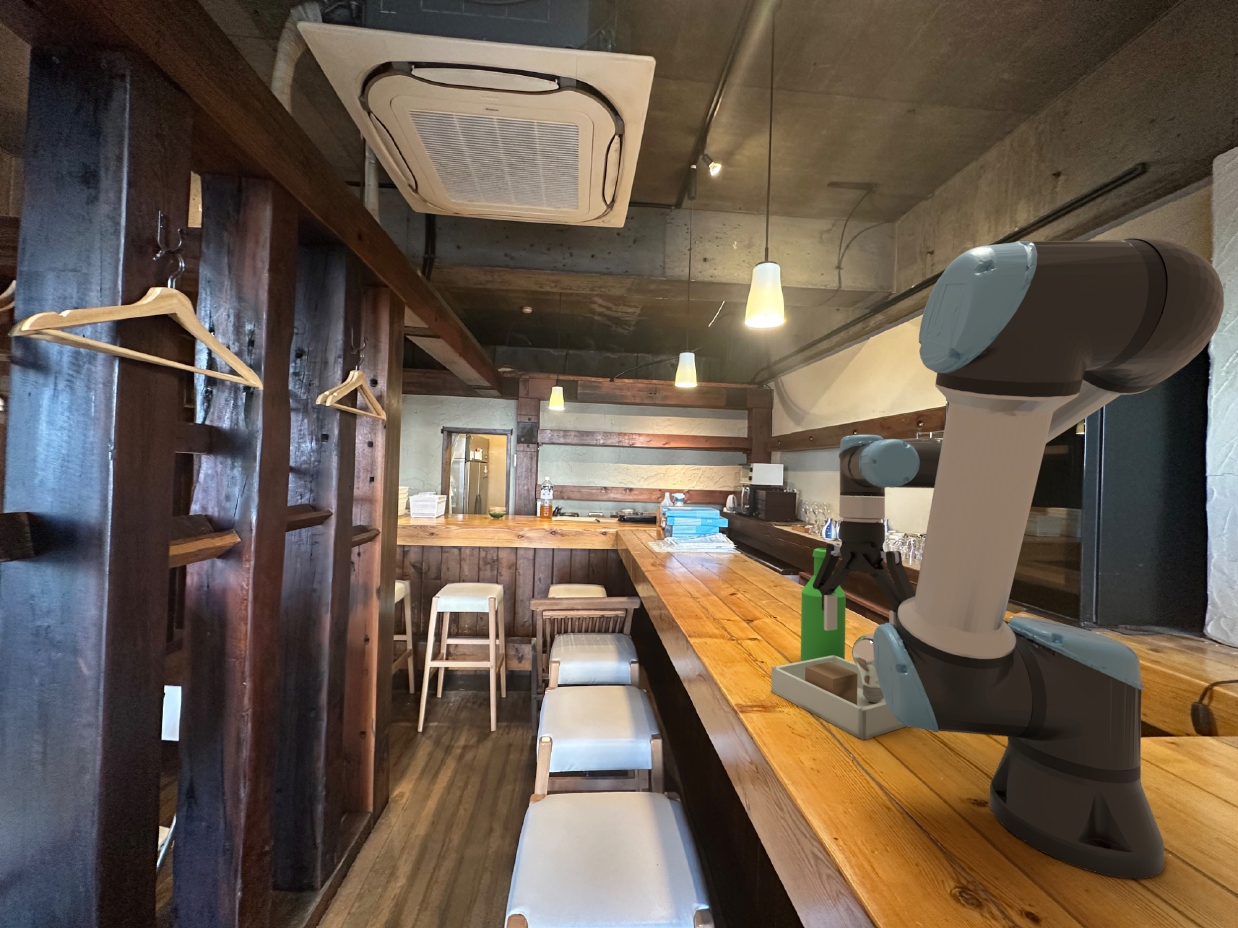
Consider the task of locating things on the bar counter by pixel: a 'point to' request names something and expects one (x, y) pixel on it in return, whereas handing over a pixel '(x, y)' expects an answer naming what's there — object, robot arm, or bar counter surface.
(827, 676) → the walnut block
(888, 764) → the bar counter surface
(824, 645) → the bottle
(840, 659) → the tray
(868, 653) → the light bulb
